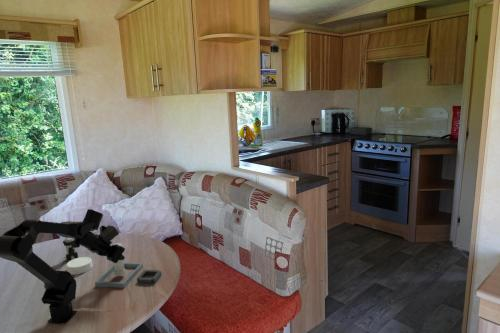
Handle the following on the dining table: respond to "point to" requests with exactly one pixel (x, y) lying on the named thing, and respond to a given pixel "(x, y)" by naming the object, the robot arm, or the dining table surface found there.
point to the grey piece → (149, 278)
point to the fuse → (119, 265)
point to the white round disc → (79, 265)
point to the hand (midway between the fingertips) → (121, 257)
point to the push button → (70, 250)
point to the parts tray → (119, 284)
